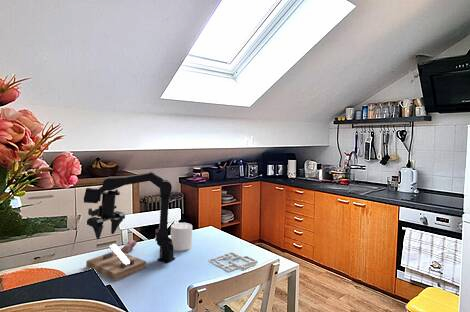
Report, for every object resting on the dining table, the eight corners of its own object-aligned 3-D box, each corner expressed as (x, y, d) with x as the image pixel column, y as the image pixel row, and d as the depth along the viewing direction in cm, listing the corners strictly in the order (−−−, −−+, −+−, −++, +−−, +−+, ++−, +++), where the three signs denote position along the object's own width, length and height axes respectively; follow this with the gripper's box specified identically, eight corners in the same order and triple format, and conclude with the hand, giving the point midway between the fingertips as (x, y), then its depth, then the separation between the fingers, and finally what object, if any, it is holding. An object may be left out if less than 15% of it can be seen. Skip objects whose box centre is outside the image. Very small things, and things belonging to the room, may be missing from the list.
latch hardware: (134, 264, 137) (134, 260, 137) (123, 268, 132) (123, 264, 132) (112, 255, 146) (112, 251, 146) (101, 259, 141) (101, 255, 141)
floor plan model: (270, 262, 152) (270, 258, 151) (232, 276, 136) (232, 271, 135) (245, 250, 166) (245, 247, 166) (208, 262, 150) (208, 258, 150)
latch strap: (130, 264, 136) (131, 263, 136) (125, 267, 134) (125, 265, 133) (114, 245, 142) (115, 243, 142) (108, 247, 140) (109, 245, 139)
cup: (166, 247, 165) (166, 226, 165) (180, 241, 175) (180, 221, 174) (182, 252, 159) (182, 230, 158) (196, 246, 169) (196, 225, 168)
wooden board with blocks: (146, 267, 140) (146, 261, 140) (116, 280, 127) (116, 274, 127) (116, 255, 152) (116, 250, 152) (86, 267, 139) (86, 260, 139)
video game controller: (123, 258, 153) (129, 247, 152) (116, 253, 154) (122, 242, 153) (134, 251, 163) (139, 240, 162) (127, 246, 164) (132, 236, 162)
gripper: (109, 198, 152) (106, 228, 153) (78, 203, 134) (75, 238, 135) (127, 201, 148) (124, 232, 149) (98, 208, 131) (95, 243, 131)
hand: (105, 236), depth 141 cm, fingers open, 9 cm apart
